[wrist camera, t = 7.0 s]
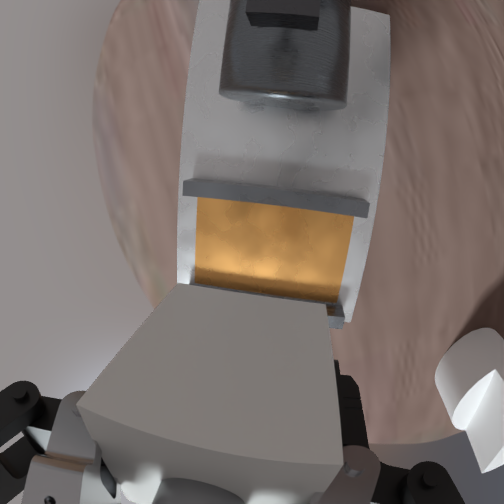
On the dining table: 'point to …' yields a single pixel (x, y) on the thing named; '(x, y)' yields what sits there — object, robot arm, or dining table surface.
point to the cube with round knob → (220, 402)
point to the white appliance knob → (476, 392)
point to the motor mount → (283, 149)
